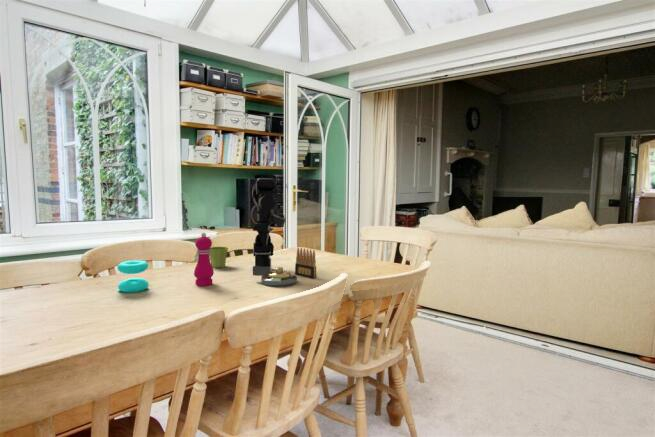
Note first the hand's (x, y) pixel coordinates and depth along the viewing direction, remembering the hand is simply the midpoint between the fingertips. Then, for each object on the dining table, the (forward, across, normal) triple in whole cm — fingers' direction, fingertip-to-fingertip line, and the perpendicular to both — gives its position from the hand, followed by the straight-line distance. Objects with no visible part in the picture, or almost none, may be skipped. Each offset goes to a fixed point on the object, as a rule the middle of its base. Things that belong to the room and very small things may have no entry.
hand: (265, 245), depth 172 cm
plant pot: (+13, +14, +25) cm, 32 cm away
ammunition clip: (+13, +2, -17) cm, 22 cm away
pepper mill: (+13, -17, +20) cm, 29 cm away
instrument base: (+13, -10, -8) cm, 18 cm away
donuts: (+13, -28, +42) cm, 52 cm away
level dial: (+11, -10, -5) cm, 15 cm away
